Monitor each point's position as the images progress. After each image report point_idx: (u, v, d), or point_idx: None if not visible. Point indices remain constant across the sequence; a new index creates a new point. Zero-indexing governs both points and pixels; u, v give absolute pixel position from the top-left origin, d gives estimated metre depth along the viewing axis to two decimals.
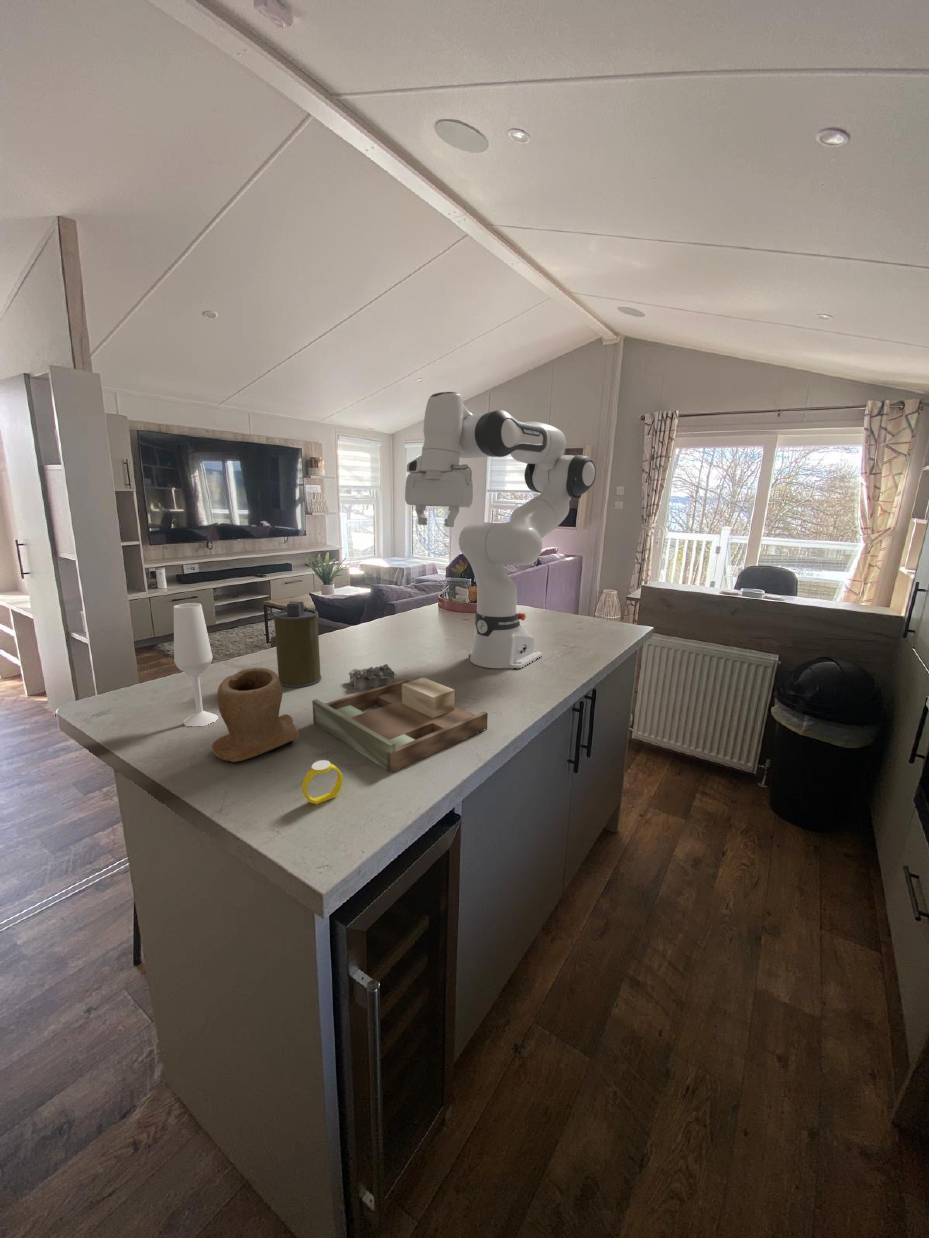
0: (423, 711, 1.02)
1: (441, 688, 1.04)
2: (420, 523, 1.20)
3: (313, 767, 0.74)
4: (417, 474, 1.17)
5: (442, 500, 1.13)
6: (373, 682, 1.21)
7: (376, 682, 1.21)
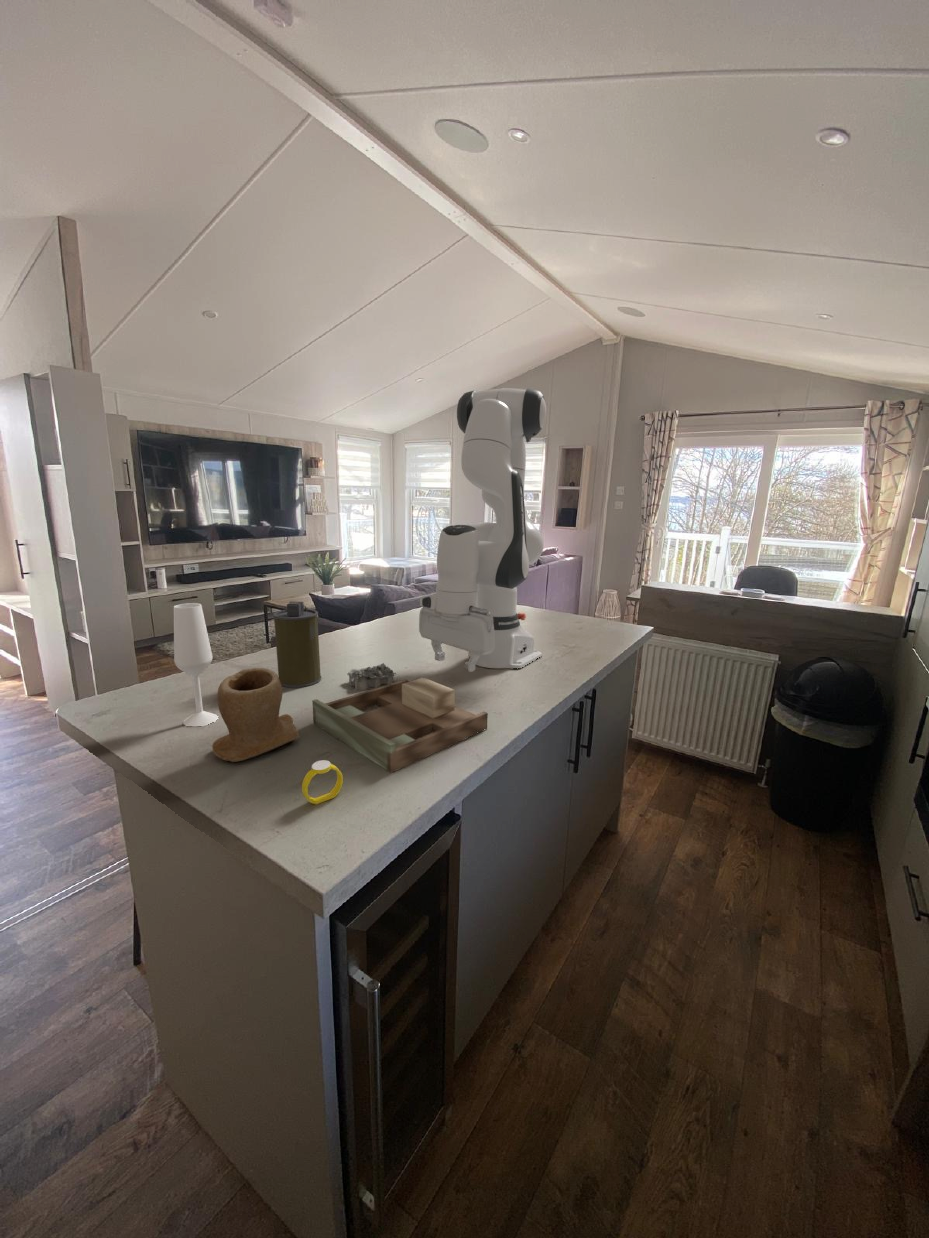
0: (423, 711, 1.02)
1: (441, 688, 1.04)
2: (437, 659, 1.11)
3: (313, 767, 0.74)
4: (432, 611, 1.07)
5: (461, 644, 1.04)
6: (374, 681, 1.21)
7: (377, 681, 1.21)
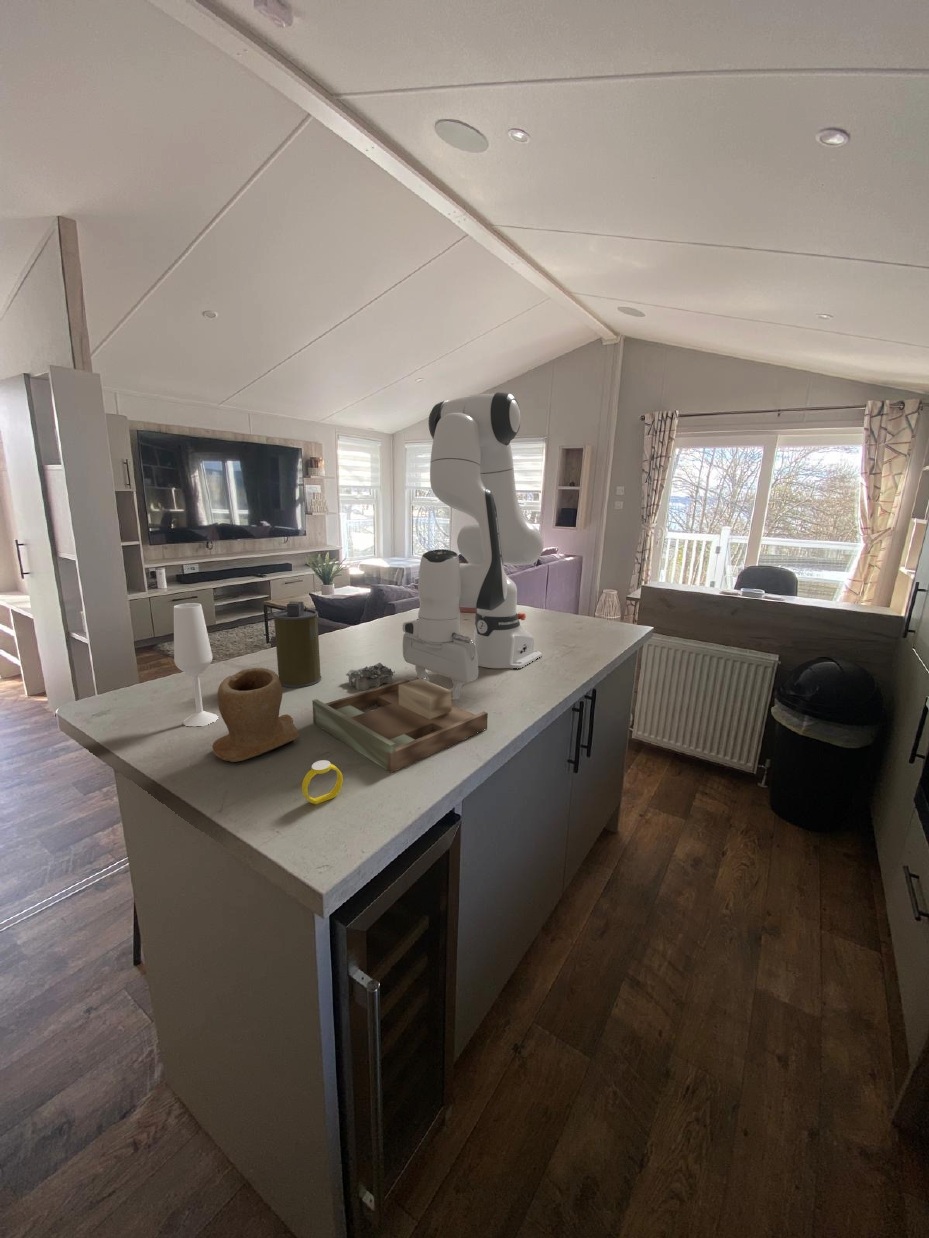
0: (420, 712, 1.01)
1: (438, 689, 1.03)
2: None
3: (313, 767, 0.74)
4: (415, 637, 1.05)
5: (444, 671, 1.02)
6: (375, 681, 1.22)
7: (377, 680, 1.22)
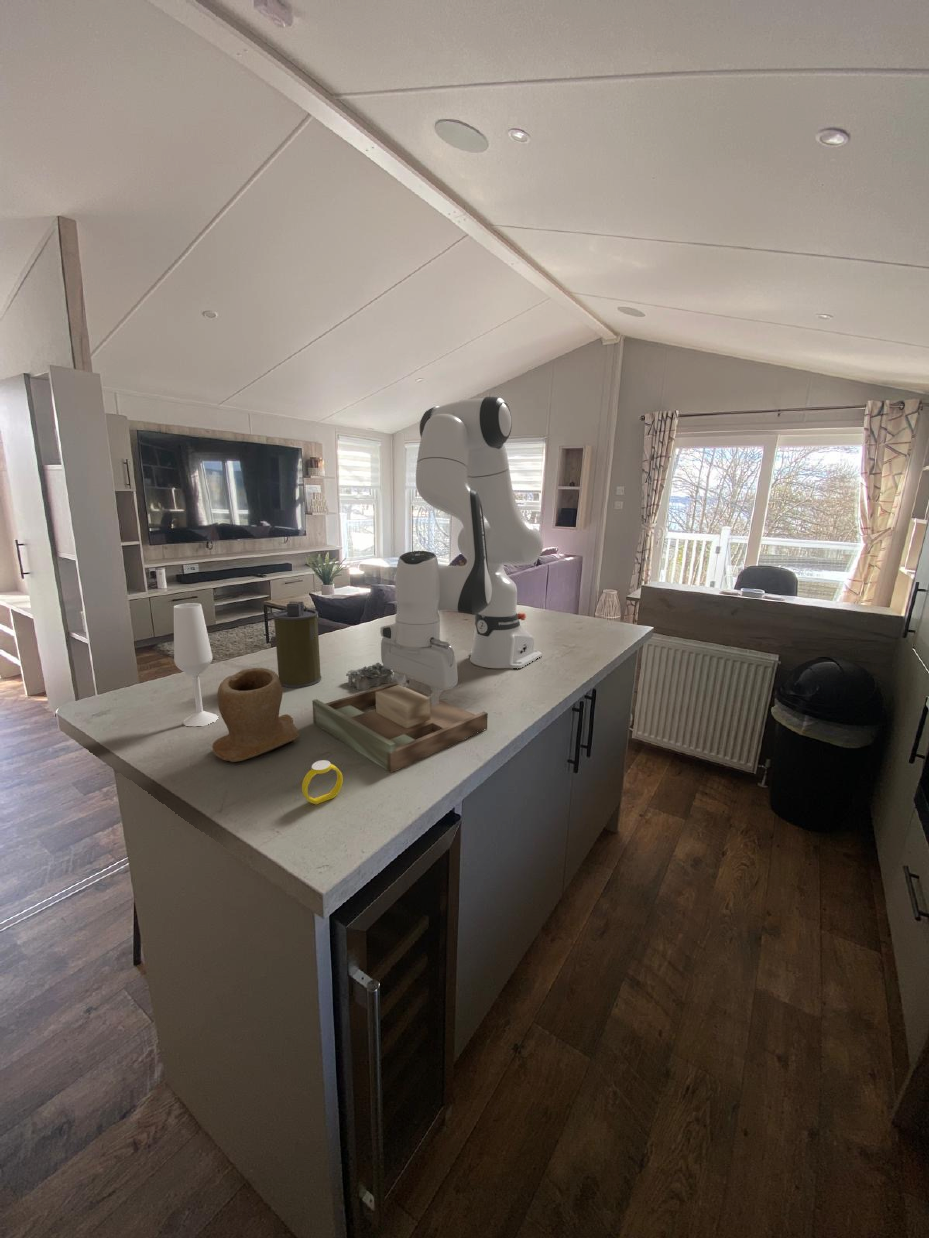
0: (397, 721, 0.97)
1: (416, 696, 0.99)
2: None
3: (313, 767, 0.74)
4: (392, 642, 1.01)
5: (422, 678, 0.98)
6: (375, 680, 1.22)
7: (378, 680, 1.22)
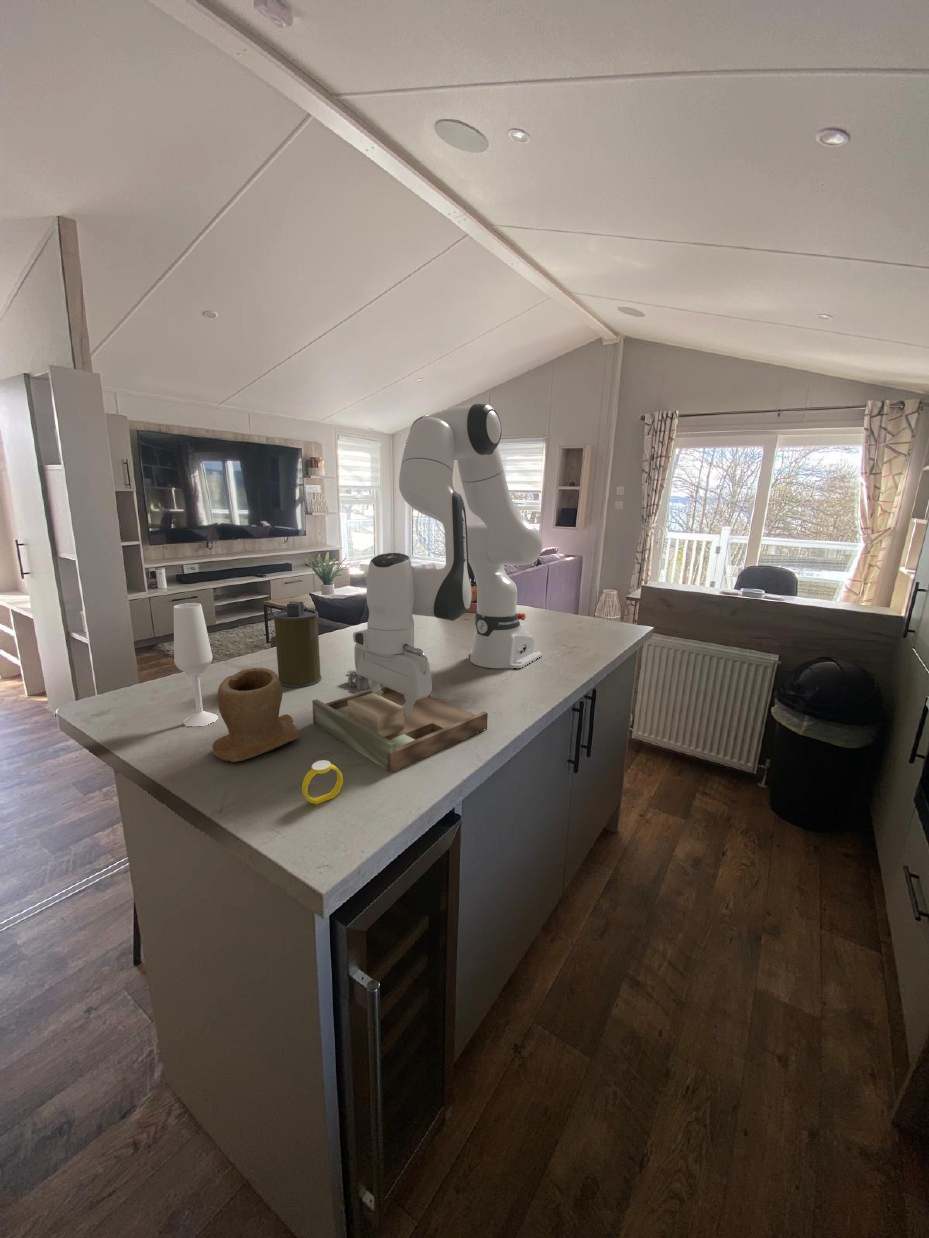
0: None
1: (389, 705, 0.95)
2: None
3: (313, 767, 0.74)
4: (365, 648, 0.97)
5: (395, 686, 0.93)
6: None
7: None
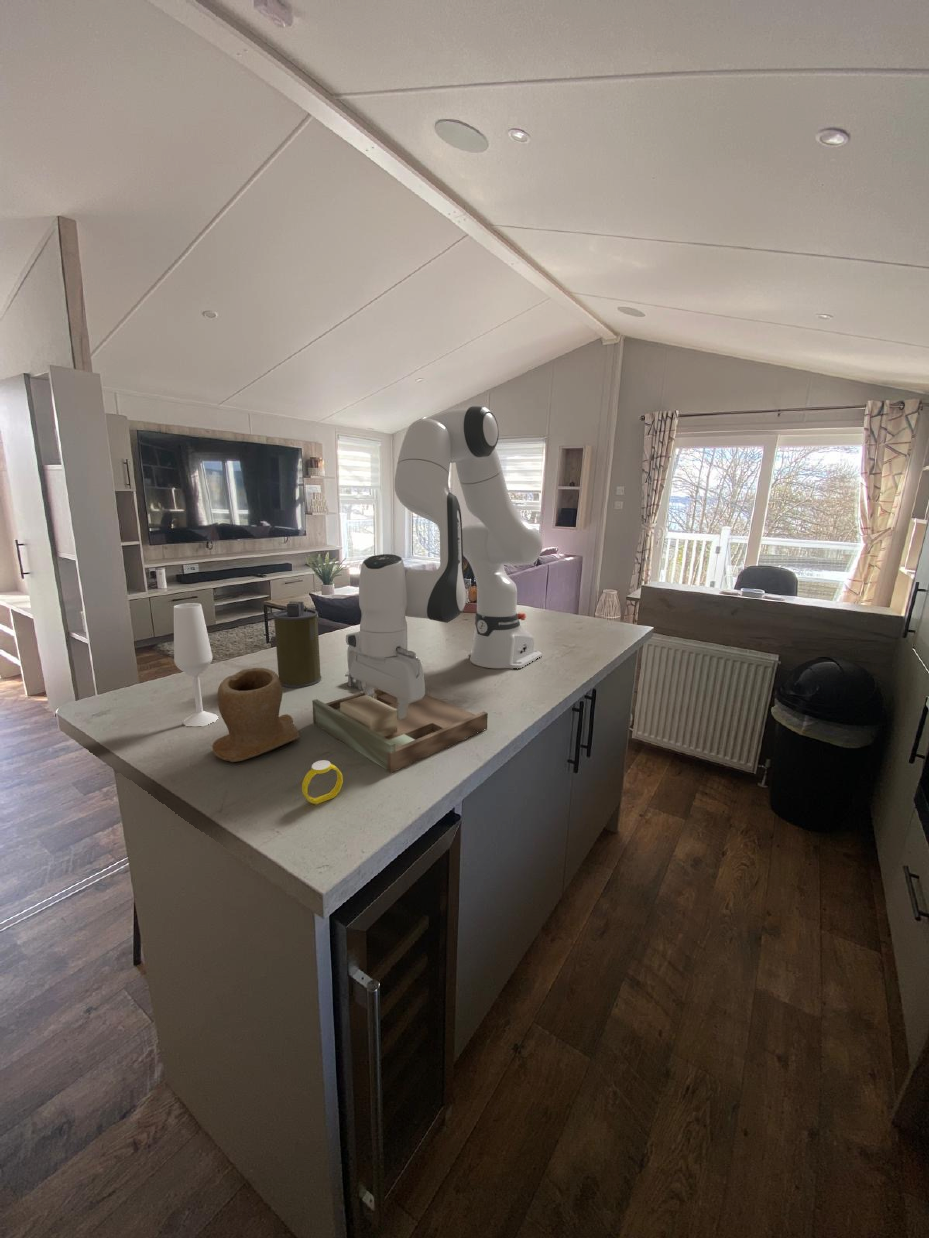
0: None
1: (382, 707, 0.94)
2: None
3: (313, 767, 0.74)
4: (358, 651, 0.96)
5: (388, 689, 0.92)
6: None
7: None
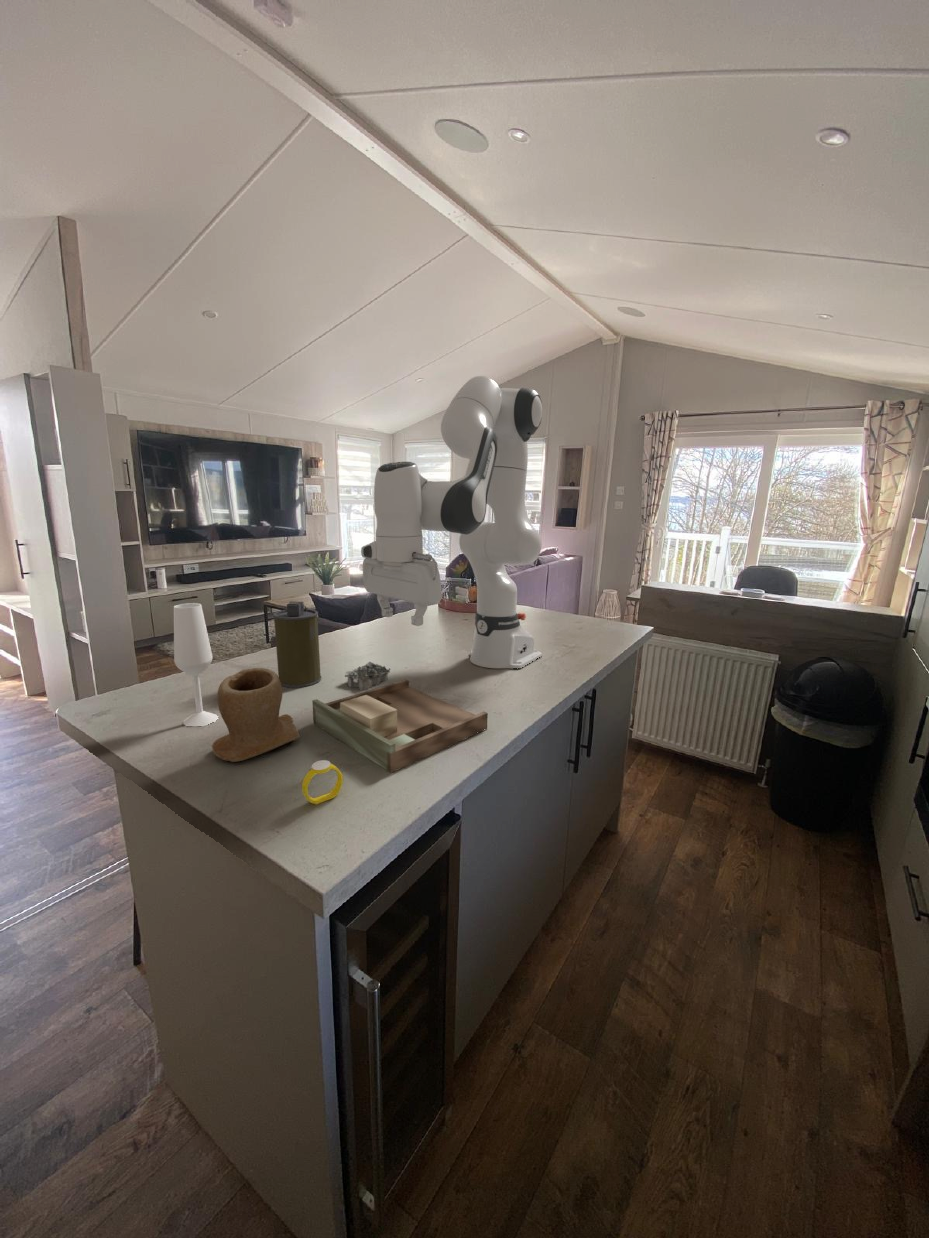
0: None
1: (382, 707, 0.94)
2: (384, 615, 1.01)
3: (313, 767, 0.74)
4: (374, 561, 0.97)
5: (405, 596, 0.93)
6: (375, 679, 1.23)
7: (378, 679, 1.23)
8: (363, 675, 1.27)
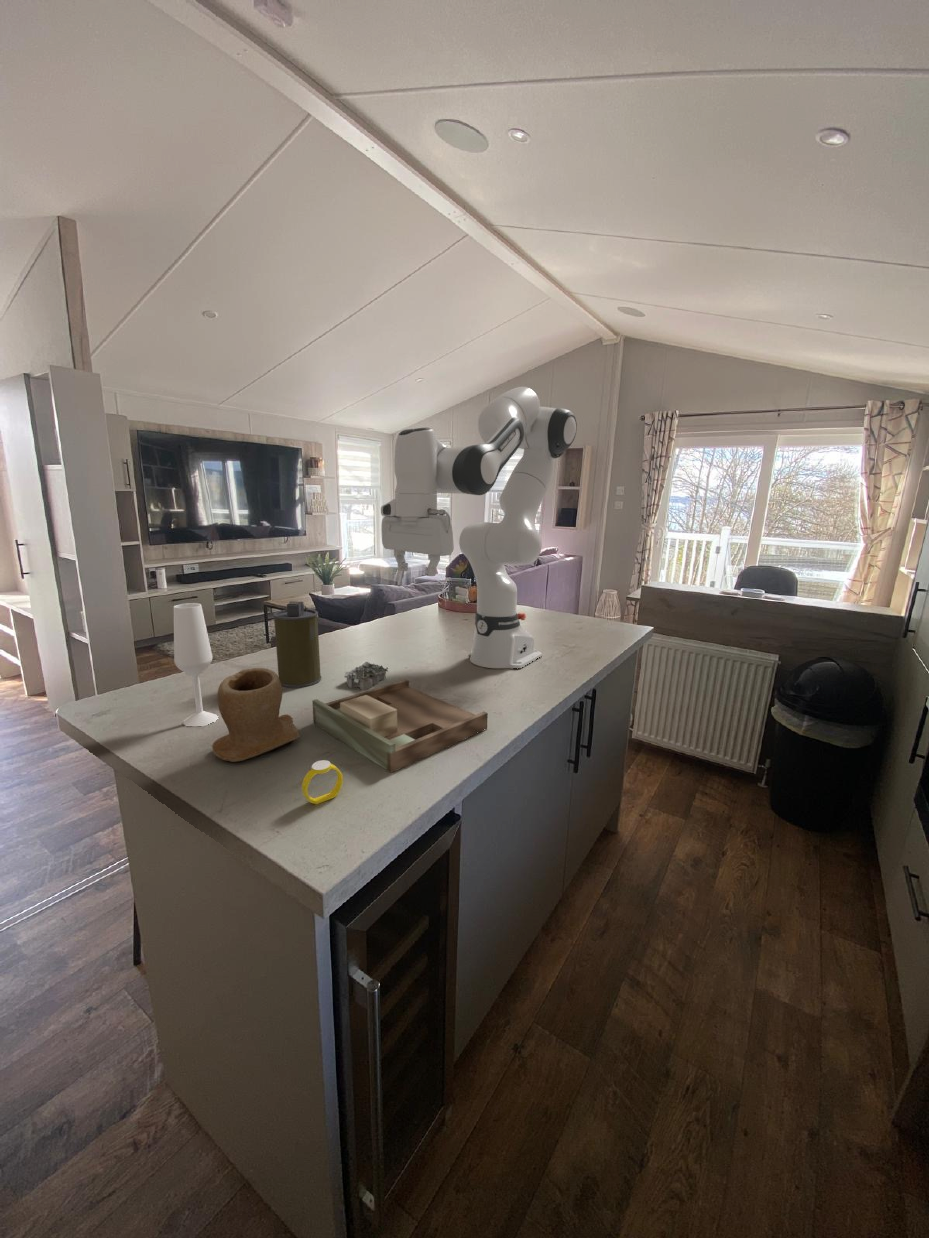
0: None
1: (382, 707, 0.94)
2: (400, 569, 1.11)
3: (313, 767, 0.74)
4: (392, 518, 1.07)
5: (420, 548, 1.03)
6: (375, 678, 1.23)
7: (378, 678, 1.23)
8: (361, 675, 1.27)
